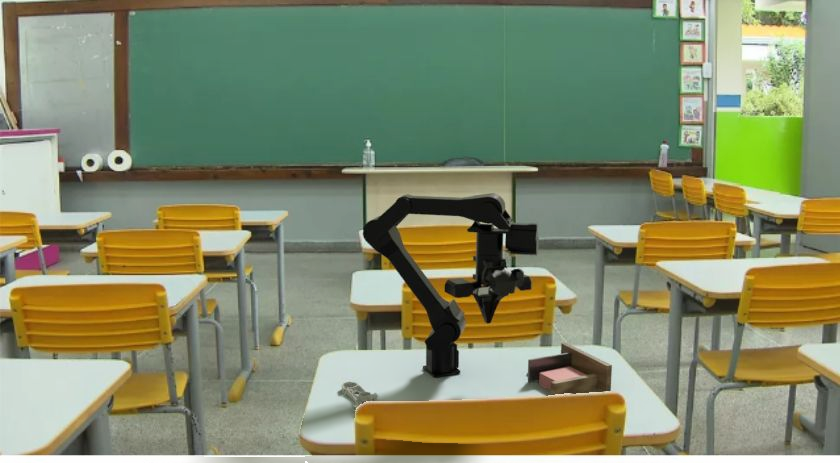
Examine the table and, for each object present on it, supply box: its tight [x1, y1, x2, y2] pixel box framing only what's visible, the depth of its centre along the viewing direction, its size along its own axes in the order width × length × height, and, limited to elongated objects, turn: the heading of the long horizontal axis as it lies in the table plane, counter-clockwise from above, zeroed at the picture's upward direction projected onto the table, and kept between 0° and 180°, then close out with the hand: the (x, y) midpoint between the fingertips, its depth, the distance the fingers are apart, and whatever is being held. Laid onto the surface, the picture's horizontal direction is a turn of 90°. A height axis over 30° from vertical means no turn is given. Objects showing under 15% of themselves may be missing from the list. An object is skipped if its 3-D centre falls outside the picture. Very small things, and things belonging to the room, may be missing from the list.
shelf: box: [526, 342, 613, 395], centre depth 161 cm, size 12×16×6 cm
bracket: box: [341, 381, 378, 413], centre depth 153 cm, size 8×2×15 cm
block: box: [538, 366, 586, 392], centre depth 161 cm, size 8×6×3 cm
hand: (487, 323), depth 165 cm, fingers closed
